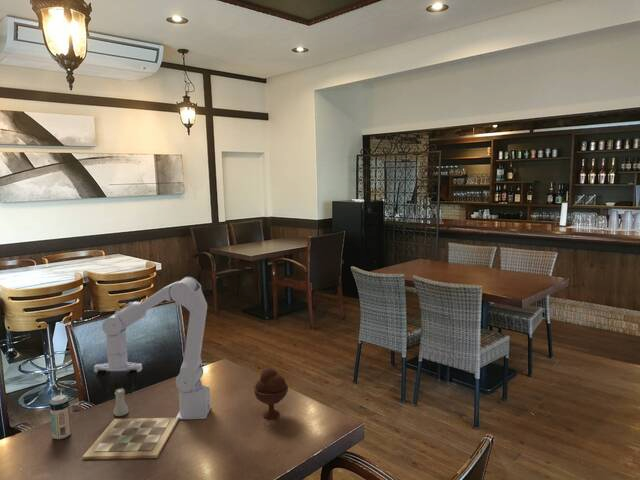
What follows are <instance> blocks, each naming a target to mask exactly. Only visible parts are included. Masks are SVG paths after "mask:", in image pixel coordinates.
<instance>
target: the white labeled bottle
mask: <svg viewBox="0 0 640 480" xmlns="http://www.w3.org/2000/svg"><path fill="white" fill-rule="evenodd" d="M49 411H50V412H49V413H50V423H51V434H52V435H51V436H52V438H53V439H55V440H64V439H65V438H68V436H70V435H71V434H72V426H71V425H72V424H71V414H70V402H69V397H68V396H67V395H66V394H62V393H61V394H56V395H55V396H52V397H51V399H50V401H49Z"/></svg>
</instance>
